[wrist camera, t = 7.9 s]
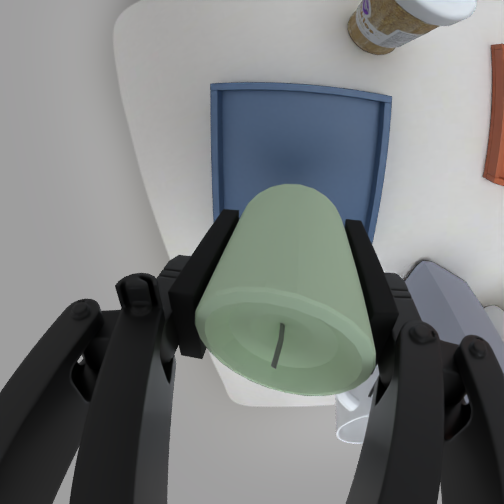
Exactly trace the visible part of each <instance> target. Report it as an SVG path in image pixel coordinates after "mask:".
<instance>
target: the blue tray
mask: <svg viewBox="0 0 504 504" xmlns="http://www.w3.org/2000/svg"><path fill="white" fill-rule="evenodd" d="M210 90H211V162H212V194H213V218H214V222H215V220H216V219H217V217H218V216H219V215H220V213H221V212H222V210H223V209H230V210H239V219H240V217H241V215H242V213H243V212H244V210H245V208H246V206H247V205H248V203H249V202H250V201H251V200H252V199H253V198H254V197H255V196H256V195H257V194H259V193H261V192H262V191H264V190H266V189H268V188H270V187H273V186H278V185H282V184H300V185H303V186H307V187H310V188H313V189H315V190H317V191H318V192H320V193H322V194H323V195H325V196H326V197H327V198H328V199H329V200H330V201H331V202H332V203H333V204H334V205H335V207H336V209H337V211H338V213H339V215H340V217H341V219H342V222H343V225H344V227H345V220H346V219H351V220H360V221H362V223H363V226H364V228H365V230H366V232H367V234H368V237H369V239H370V241H371V243H372V242H373V237H374V233H375V228H376V222H377V217H378V212H379V206H380V200H381V194H382V188H383V181H384V174H385V167H386V159H387V151H388V142H389V131H390V120H391V105H392V104H391V103H392V96H387V95H382V94H377V93H371V92H365V91H359V90H352V89H345V88H337V87H329V86H319V85H307V84H292V83H265V82H240V83H213V84H210Z"/></svg>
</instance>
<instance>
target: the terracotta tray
mask: <svg viewBox="0 0 504 504" xmlns="http://www.w3.org/2000/svg"><path fill="white" fill-rule="evenodd" d="M491 51H492V111H491V124H490V134H489V143H488V150H487V157H486V163H485V169H484V175H483V177H484V178H486V179H488V180H490V181H491V182H493V183H496V184H499V185H502V186H504V44H496V45H491Z"/></svg>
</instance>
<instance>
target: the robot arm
mask: <svg viewBox="0 0 504 504" xmlns="http://www.w3.org/2000/svg"><path fill="white" fill-rule="evenodd" d="M238 221H239V210H230V209H223V210H222V212H221V213H220V215H219V216H218V217H217V219H216V220H215V222H214V223H213V225H212V226H211V228H210V229H209V230H208V232H207V233H206V235H205V236H204V238H203V239H202V241H201V242H200V244H199V245H198V247H197V248H196V250H195V251H194V253H193V254H192V256H183V255H178V256H177V257H175V258H173V259H172V260H170V261H169V262H168V263H167V265H166V266H165V267H164V270H162V271H161V273H160V274H159V276H158V277H157V278H155V277H154V276H152V275H150V274H146V273H137V274H132V275H129V276H126V277H124V278H123V279H121V280H120V281H118V283H117V284H116V285H115V287H116V291H117V294H118V297H119V301H120V304H121V307H122V308H121V310H112V311H101V309H100V306H99V304H98V303H97V302H96V301H95V300H92V299H82V300H78V301H76V302H74V303H72V304H71V305H70V306H68V307H67V308H66V309H65V310H64V312H63V313H62V314H61V315H60V316H59V317H58V318H57V320H56V321H55V322H54V323H53V324H52V325H51V327H50V328H49V329H48V330H47V332H46V333H45V334H44V335H43V337H42V338H41V339H40V340H39V341H38V343H37V344H36V345H35V346H34V348H33V349H32V350H31V351H30V353H29V354H28V355H27V357H26V358H25V359H24V360H23V362H22V363H21V364H20V366H19V367H18V368H17V370H16V371H15V372H14V374H13V375H12V377H11V378H10V379H9V381H8V382H7V384H6V385H5V386H4V388H3V389H2V391H1V392H0V504H52V503H53V501H54V499H55V496H56V494H57V492H58V490H59V488H60V485H61V483H62V481H63V479H64V477H65V474H66V472H67V470H68V468H69V466H70V464H71V461H72V460H73V457H74V456H75V453H76V451H77V449H78V447H79V451H78V456H77V461H76V466H75V471H74V477H73V483H72V489H71V496H70V504H167V485H168V457H169V440H170V426H171V412H172V399H173V390H174V378H175V369H176V359H175V355H174V354H175V351H176V349H177V347H178V345H179V348H180V352H181V355H183V356H189V357H194V358H200V359H202V358H203V356H204V353H205V350H206V348H207V347H206V346H205V344H204V343H203V341H202V340H201V339H200V336H199V334H198V331H197V328H196V325H195V311H196V309H197V306H198V304H199V302H200V300H201V298H202V296H203V294H204V292H205V289H206V287H207V285H208V283H209V281H210V279H211V277H212V275H213V273H214V271H215V269H216V266H217V264H218V262H219V260H220V258H221V256H222V254H223V252H224V250H225V248H226V246H227V244H228V242H229V240H230V238H231V236H232V234H233V232H234V229H235V227H236V225H237V223H238ZM344 228H345V232H346V235H347V238H348V241H349V245H350V248H351V252H352V255H353V259H354V262H355V266H356V270H357V273H358V277H359V281H360V285H361V288H362V292H363V296H364V301H365V305H366V309H367V313H368V318H369V322H370V327H371V331H372V336H373V341H374V346H375V351H376V364H375V368H376V366H377V364H378V369H379V376H378V378H377V379H376V381H375V383H374V385H373V387H372V389H371V390H370V392H369V395H368V397H371V396H372V394H373V397H372V403H371V408H370V413H369V418H368V423H367V428H366V433H365V437H364V441H363V446H362V450H361V454H360V458H359V461H358V465H357V469H356V473H355V476H354V480H353V483H352V486H351V489H350V492H349V495H348V498H347V501H346V504H437V500H438V493H439V486H440V483H441V493H442V504H504V373H503V371H502V369H501V367H500V364H499V362H498V360H497V358H496V356H495V354H494V352H493V350H492V348H491V346H490V345H489V343H488V342H487V341H486V340H484V339H483V338H481V337H479V336H477V335H467V336H465V337H464V338H463V339H462V341H461V342H460V344H459V345H457V344H454V343H450V342H446V341H443V340H440V338H439V335H438V332H437V331H436V330H435V329H434V328H433V327H432V326H431V325H429V324H428V323H426V322H423V321H422V320H421V317H420V315H419V313H418V310H417V308H416V306H415V303H414V301H413V299H412V296H411V294H410V292H408V288H407V285H406V283H405V281H404V280H403V279H402V278H401V277H400V276H399V275H397V274H395V273H384V272H383V269H382V267H381V265H380V262H379V260H378V257H377V255H376V253H375V250H374V248H373V246H372V243H371V241H370V239H369V237H368V234H367V232H366V230H365V228H364V226H363V223H362V221H360V220H351V219H346V220H345V227H344ZM81 355H82V357H83V360H82V361H81V362H80V363H78V362H77V361H78V359H79V358H80V356H81ZM375 368H374V370H375ZM374 370H373V372H374ZM373 372H372V373H371V374H373ZM466 394H467V397H468V400H469V402H468V403H466V401H465V399H464V397H465V395H466ZM79 445H80V446H79Z"/></svg>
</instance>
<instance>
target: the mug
mask: <svg viewBox="0 0 504 504" xmlns="http://www.w3.org/2000/svg"><path fill="white" fill-rule="evenodd" d="M378 376H379V369H378V364H377V366H376V368H375V370H374V372H373V374H371V375H370V377H369V378H368V379H367V380H366V381H365V382H363V383H362V384H360V385H359V386H358V387H356V388H354V389H352V390H349V391H346V392H343V393H340V394H335V400H336V436H337V438H338V439H340V440H341V441H343V442H347V443H354V444H363V441H364V437H365V433H366V428H367V423H368V418H369V413H370V408H371V403H372V397H373V394H372V396H371V397H368V395H369V392H370V390H371V389H372V387H373V385H374V383H375V381H376V379H377V378H378Z"/></svg>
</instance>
